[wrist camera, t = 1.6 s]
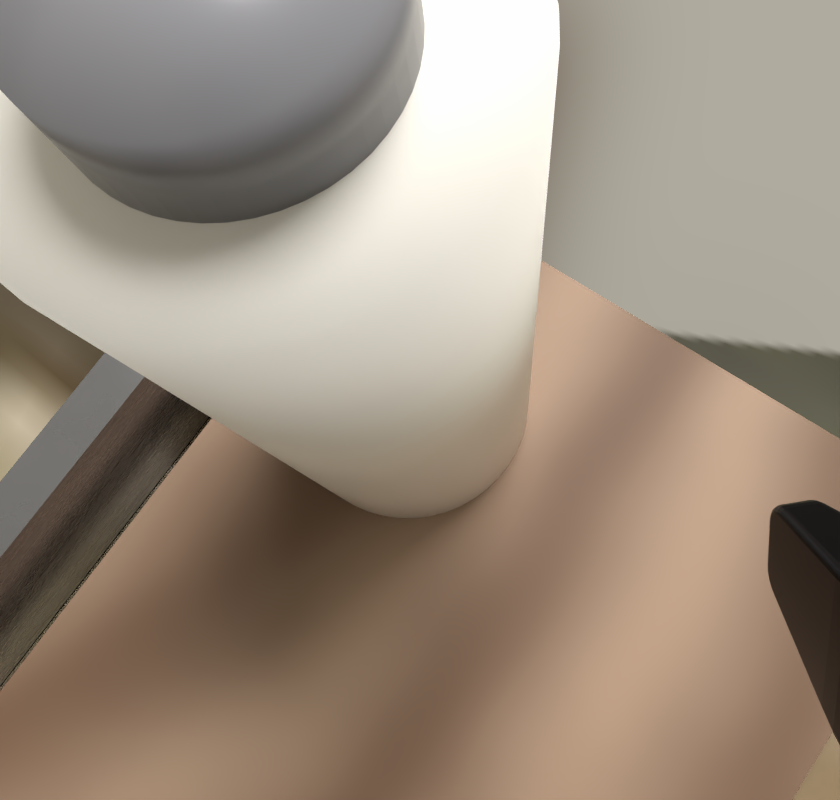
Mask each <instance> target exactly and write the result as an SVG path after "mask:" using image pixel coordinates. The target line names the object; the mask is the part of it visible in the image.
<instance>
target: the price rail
mask: <svg viewBox="0 0 840 800" xmlns="http://www.w3.org/2000/svg"><path fill="white" fill-rule="evenodd" d="M208 418H209V416H208V415H206V414H204V413H203V412H201V411H199V410H198V409H196V408H194V407H193V406H191V405H190V404H188V403H186V402H185V401H183V400H181V399H180V398H178V397H177V396H175V395H173V394H172V393H170V392H168V391H167V390H165V389H164V388H162V387H160V386H159V385H157V384H155V383H154V382H152V381H151V380H149V379H147V378H146V377H144V376H142V375H141V374H139V373H138V372H136V371H134V370H133V369H131V368H129V367H128V366H126V365H125V364H123V363H121V362H120V361H118V360H116V359H115V358H113V357H112V356H110V355H108V354H107V353H104V355H103V356H102V357H101V358H100V360H99V361H98V362H97V363H96V365H95V366H94V367H93V368H92V369H91V371H90V372H89V373H88V374H87V376H86V377H85V378H84V379H83V381H82V382H81V383H80V384H79V386H78V387H77V388H76V389H75V390H74V392H73V393H72V394H71V395H70V397H69V398H68V399H67V400H66V402H65V403H64V404H63V405H62V406H61V408H60V409H59V410H58V411H57V413H56V414H55V415H54V416H53V418H52V419H51V420H50V421H49V422H48V424H47V425H46V426H45V427H44V429H43V430H42V431H41V432H40V434H39V435H38V436H37V437H36V439H35V440H34V441H33V442H32V443H31V445H30V446H29V447H28V448H27V450H26V451H25V452H24V453H23V455H22V456H21V457H20V458H19V459H18V461H17V462H16V463H15V464H14V466H13V467H12V468H11V469H10V471H9V472H8V473H7V474H6V475H5V477H4V478H3V479H2V480H1V482H0V686H1V684H2V683H3V682H4V680H5V679H6V678H7V677H8V675H9V674H10V673H11V671H12V670H13V669H14V668H15V666H16V665H17V664H18V662H19V661H20V660H21V658H22V657H23V656H24V655H25V653H26V652H27V651H28V649H29V648H30V647H31V646H32V644H33V643H34V642H35V640H36V639H37V638H38V637H39V635H40V634H41V633H42V631H43V630H44V629H45V628H46V626H47V625H48V624H49V622H50V621H51V620H52V619H53V617H54V616H55V615H56V613H57V612H58V611H59V610H60V608H61V607H62V606H63V604H64V603H65V602H66V600H67V599H68V598H69V597H70V595H71V594H72V593H73V591H74V590H75V589H76V588H77V586H78V585H79V584H80V582H81V581H82V580H83V579H84V577H85V576H86V575H87V573H88V572H89V571H90V570H91V568H92V567H93V566H94V564H95V563H96V562H97V561H98V559H99V558H100V557H101V555H102V554H103V553H104V552H105V550H106V549H107V548H108V546H109V545H110V544H111V543H112V541H113V540H114V539H115V537H116V536H117V535H118V533H119V532H120V531H121V530H122V528H123V527H124V526H125V524H126V523H127V522H128V521H129V519H130V518H131V517H132V515H133V514H134V513H135V512H136V510H137V509H138V508H139V506H140V505H141V504H142V503H143V501H144V500H145V499H146V497H147V496H148V495H149V494H150V492H151V491H152V490H153V488H154V487H155V486H156V485H157V483H158V482H159V481H160V479H161V478H162V477H163V476H164V474H165V473H166V472H167V470H168V469H169V468H170V466H171V465H172V464H173V463H174V461H175V460H176V459H177V457H178V456H179V455H180V454H181V452H182V451H183V450H184V448H185V447H186V446H187V445H188V443H189V442H190V441H191V439H192V438H193V437H194V436H195V434H196V433H197V432H198V430H199V429H200V428H201V427H202V425H203V424H204V423H205V421H206V420H207V419H208Z"/></svg>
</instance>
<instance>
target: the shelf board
mask: <svg viewBox="0 0 840 800" xmlns="http://www.w3.org/2000/svg"><path fill="white" fill-rule="evenodd" d="M806 500H817V501H820V502H822V503H825V504H826V505H828V506H830V507H832V508H834V509H836V510H838V511H840V439H839V438H837V437H836V436H834V435H832V434H831V433H829V432H827V431H826V430H824V429H822V428H821V427H819V426H817V425H816V424H814V423H812V422H811V421H809V420H807V419H806V418H804V417H802V416H801V415H799V414H797V413H796V412H794V411H792V410H791V409H789V408H787V407H786V406H784V405H782V404H780V403H779V402H777V401H775V400H774V399H772V398H770V397H769V396H767V395H765V394H764V393H762V392H760V391H759V390H757V389H755V388H754V387H752V386H750V385H749V384H747V383H745V382H744V381H742V380H740V379H739V378H737V377H735V376H734V375H732V374H730V373H729V372H727V371H725V370H724V369H722V368H720V367H719V366H717V365H715V364H714V363H712V362H710V361H709V360H707V359H705V358H704V357H702V356H700V355H699V354H697V353H695V352H694V351H692V350H690V349H688V348H687V347H685V346H683V345H682V344H680V343H678V342H677V341H675V340H673V339H672V338H670V337H668V336H667V335H665V334H663V333H662V332H660V331H658V330H657V329H655V328H653V327H652V326H650V325H648V324H647V323H645V322H643V321H641V320H640V319H638V318H637V317H635V316H633V315H632V314H630V313H628V312H626V311H625V310H623V309H622V308H620V307H618V306H617V305H615V304H613V303H612V302H610V301H608V300H606V299H605V298H603V297H602V296H600V295H598V294H597V293H595V292H593V291H591V290H590V289H588V288H586V287H585V286H583V285H581V284H580V283H578V282H576V281H575V280H573V279H571V278H570V277H568V276H566V275H564V274H563V273H561V272H560V271H558V270H556V269H555V268H553V267H551V266H550V265H548V264H546V263H545V262H543V261H541V267H540V279H539V290H538V302H537V313H536V325H535V336H534V348H533V359H532V371H531V382H530V394H529V405H528V414H527V422H526V426H525V429H524V433H523V437H522V439H521V442H520V444H519V447H518V449H517V451H516V453H515V455H514V456H513V458H512V460H511V462H510V463H509V465H508V466H507V468H506V469H505V470H504V471H503V473H502V474H501V475H500V477H499V478H498V479H497V480H496V481H495V482H494V483H493V484H492V485H491V486H490V487H489V488H488V489H486V490H485V491H484V492H482V493H481V494H480V495H478V496H477V497H476V498H474V499H473V500H471V501H469V502H467V503H466V504H464V505H462V506H460V507H458V508H455V509H453V510H450V511H448V512H445V513H441V514H437V515H433V516H429V517H421V518H394V517H387V516H382V515H378V514H375V513H371V512H368V511H365V510H363V509H361V508H359V507H356V506H354V505H352V504H351V503H349V502H347V501H346V500H344V499H342V498H341V497H339V496H338V495H336V494H334V493H333V492H331V491H329V490H328V489H326V488H325V487H323V486H321V485H320V484H318V483H316V482H315V481H313V480H312V479H310V478H308V477H307V476H305V475H303V474H302V473H300V472H299V471H297V470H295V469H294V468H292V467H290V466H289V465H287V464H286V463H284V462H282V461H281V460H279V459H277V458H276V457H274V456H273V455H271V454H269V453H268V452H266V451H264V450H263V449H261V448H260V447H258V446H256V445H255V444H253V443H251V442H250V441H248V440H247V439H245V438H243V437H242V436H240V435H238V434H237V433H235V432H234V431H232V430H230V429H229V428H227V427H225V426H224V425H222V424H221V423H219V422H217V421H216V420H214V419H211V420H210V421H209V423H208V424H207V425H206V426H205V428H204V429H203V430H202V432H201V433H200V434H199V435H198V437H197V438H196V439H195V441H194V442H193V443H192V444H191V446H190V447H189V448H188V450H187V451H186V452H185V453H184V455H183V456H182V457H181V459H180V460H179V461H178V463H177V464H176V465H175V466H174V468H173V469H172V470H171V472H170V473H169V474H168V475H167V477H166V478H165V479H164V481H163V482H162V483H161V484H160V486H159V487H158V488H157V490H156V491H155V492H154V493H153V495H152V496H151V497H150V499H149V500H148V501H147V503H146V504H145V505H144V506H143V508H142V509H141V510H140V512H139V513H138V514H137V515H136V517H135V518H134V519H133V521H132V522H131V523H130V524H129V526H128V527H127V528H126V530H125V531H124V532H123V533H122V535H121V536H120V537H119V539H118V540H117V541H116V542H115V544H114V545H113V546H112V548H111V549H110V550H109V552H108V553H107V554H106V555H105V557H104V558H103V559H102V561H101V562H100V563H99V564H98V566H97V567H96V568H95V570H94V571H93V572H92V573H91V575H90V576H89V577H88V579H87V580H86V581H85V582H84V584H83V585H82V586H81V588H80V589H79V590H78V592H77V593H76V594H75V595H74V597H73V598H72V599H71V601H70V602H69V603H68V604H67V606H66V607H65V608H64V610H63V611H62V612H61V613H60V615H59V616H58V617H57V619H56V620H55V621H54V622H53V624H52V625H51V626H50V628H49V629H48V630H47V632H46V633H45V634H44V635H43V637H42V638H41V639H40V641H39V642H38V643H37V644H36V646H35V647H34V648H33V650H32V651H31V652H30V653H29V655H28V656H27V657H26V659H25V660H24V661H23V662H22V664H21V665H20V666H19V668H18V669H17V670H16V672H15V673H14V674H13V675H12V677H11V678H10V679H9V681H8V682H7V683H6V684H5V686H4V687H3V688H2V690H1V691H0V800H793V798H794V796H795V794H796V793H797V791H798V789H799V788H800V786H801V784H802V783H803V781H804V779H805V778H806V776H807V774H808V772H809V771H810V769H811V767H812V766H813V764H814V762H815V761H816V759H817V757H818V756H819V754H820V752H821V751H822V749H823V747H824V745H825V744H826V742H827V740H828V739H829V737H830V735H831V734H832V732H833V731H832V729H831V727H830V724H829V722H828V720H827V718H826V716H825V713H824V711H823V709H822V707H821V704H820V702H819V699H818V697H817V695H816V692H815V690H814V688H813V685H812V683H811V681H810V678H809V676H808V674H807V671H806V669H805V666H804V664H803V662H802V659H801V657H800V655H799V652H798V650H797V648H796V645H795V643H794V640H793V638H792V636H791V633H790V631H789V629H788V626H787V624H786V622H785V619H784V617H783V615H782V612H781V610H780V607H779V605H778V603H777V600H776V598H775V596H774V593H773V591H772V588H771V585H770V581H769V576H768V546H769V525H770V515H771V512H772V510H773V509H774V508H775V507H776V506H778V505H782V504H788V503H794V502H800V501H806Z"/></svg>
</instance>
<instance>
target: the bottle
mask: <svg viewBox="0 0 840 800" xmlns="http://www.w3.org/2000/svg"><path fill="white" fill-rule="evenodd" d="M559 34H560V33H559V6H558V1H557V0H0V283H1V284H3V285H4V286H5V287H6V288H7V289H8V290H10V291H11V292H12V293H13V294H14V295H15V296H17V297H18V298H19V299H20V300H21V301H23V302H24V303H25V304H27V305H29V306H30V307H32V308H33V309H35V310H37V311H38V312H40V313H42V314H43V315H45V316H46V317H48V318H50V319H51V320H53V321H55V322H56V323H58V324H60V325H61V326H63V327H64V328H66V329H68V330H69V331H71V332H73V333H74V334H76V335H77V336H79V337H81V338H82V339H84V340H86V341H87V342H89V343H90V344H92V345H94V346H95V347H97V348H99V349H100V350H102V351H103V352H105V353H107V354H108V355H110V356H112V357H113V358H115V359H116V360H118V361H120V362H121V363H123V364H125V365H126V366H128V367H129V368H131V369H133V370H134V371H136V372H138V373H139V374H141V375H142V376H144V377H146V378H147V379H149V380H151V381H152V382H154V383H155V384H157V385H159V386H160V387H162V388H164V389H165V390H167V391H168V392H170V393H172V394H173V395H175V396H177V397H178V398H180V399H181V400H183V401H185V402H186V403H188V404H190V405H191V406H193V407H194V408H196V409H198V410H199V411H201V412H203V413H204V414H206V415H208V416H209V417H211V418H212V419H214V420H216V421H217V422H219V423H221V424H222V425H224V426H225V427H227V428H229V429H230V430H232V431H234V432H235V433H237V434H238V435H240V436H242V437H243V438H245V439H247V440H248V441H250V442H251V443H253V444H255V445H256V446H258V447H260V448H261V449H263V450H264V451H266V452H268V453H269V454H271V455H273V456H274V457H276V458H277V459H279V460H281V461H282V462H284V463H286V464H287V465H289V466H290V467H292V468H294V469H295V470H297V471H299V472H300V473H302V474H303V475H305V476H307V477H308V478H310V479H312V480H313V481H315V482H316V483H318V484H320V485H321V486H323V487H325V488H326V489H328V490H329V491H331V492H333V493H334V494H336V495H338V496H339V497H341V498H342V499H344V500H346V501H347V502H349V503H351V504H352V505H354V506H356V507H359V508H361V509H363V510H365V511H368V512H371V513H375V514H378V515H382V516H387V517H394V518H421V517H429V516H433V515H437V514H441V513H445V512H448V511H450V510H453V509H455V508H458V507H460V506H462V505H464V504H466V503H467V502H469V501H471V500H473V499H474V498H476V497H477V496H478V495H480V494H481V493H482V492H484V491H485V490H486V489H488V488H489V487H490V486H491V485H492V484H493V483H494V482H495V481H496V480H497V479H498V478H499V477H500V475H501V474H502V473H503V471H504V470H505V469H506V468H507V466H508V465H509V463H510V462H511V460H512V458H513V456H514V455H515V453H516V451H517V449H518V447H519V444H520V442H521V439H522V437H523V433H524V429H525V426H526V422H527V414H528V405H529V394H530V382H531V371H532V359H533V348H534V336H535V325H536V313H537V302H538V290H539V279H540V267H541V256H542V255H541V254H542V244H543V233H544V221H545V210H546V198H547V187H548V175H549V164H550V152H551V140H552V129H553V118H554V106H555V95H556V83H557V72H558V59H559V49H560V35H559Z"/></svg>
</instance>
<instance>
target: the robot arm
mask: <svg viewBox="0 0 840 800" xmlns="http://www.w3.org/2000/svg"><path fill="white" fill-rule="evenodd" d="M768 576H769V581H770V585H771V588H772V591H773V593H774V596H775V598H776V600H777V603H778V605H779V607H780V610H781V612H782V615H783V617H784V619H785V622H786V624H787V626H788V629H789V631H790V633H791V636H792V638H793V640H794V643H795V645H796V648H797V650H798V652H799V655H800V657H801V659H802V662H803V664H804V666H805V669H806V671H807V674H808V676H809V678H810V681H811V683H812V685H813V688H814V690H815V692H816V695H817V697H818V699H819V702H820V704H821V707H822V709H823V711H824V713H825V716H826V718H827V720H828V722H829V724H830V727H831V729H832V731H833V733H834V735H835V737H836V739H837V741H838V743H839V744H840V511H838V510H836V509H834V508H832V507H830V506H828V505H826V504H825V503H822V502H820V501H817V500H806V501H800V502H794V503H788V504H782V505H778V506H776V507H775V508H774V509H773V510H772V512H771V515H770V525H769V546H768Z"/></svg>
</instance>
